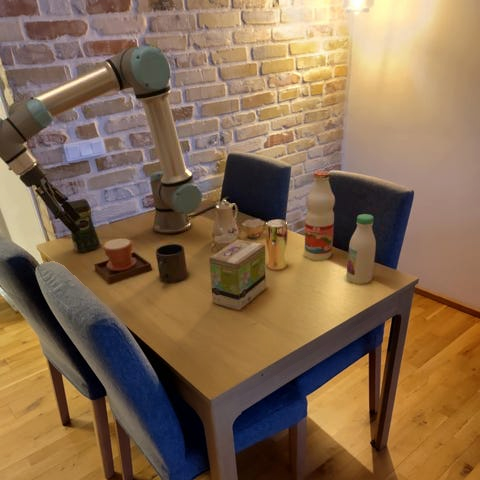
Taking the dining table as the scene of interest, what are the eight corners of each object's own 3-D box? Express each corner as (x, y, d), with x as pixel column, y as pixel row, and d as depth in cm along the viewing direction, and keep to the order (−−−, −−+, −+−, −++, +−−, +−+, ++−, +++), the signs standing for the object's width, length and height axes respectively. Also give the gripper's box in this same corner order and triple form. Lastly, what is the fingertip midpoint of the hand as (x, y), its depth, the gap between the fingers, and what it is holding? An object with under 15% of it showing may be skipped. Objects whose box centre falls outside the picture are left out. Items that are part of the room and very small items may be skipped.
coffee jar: (97, 242, 173) (85, 195, 162) (102, 248, 167) (91, 200, 157) (72, 248, 169) (59, 201, 159) (77, 255, 163) (63, 206, 153)
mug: (168, 269, 148) (163, 243, 143) (191, 271, 146) (188, 245, 140) (149, 286, 139) (144, 259, 133) (175, 289, 136) (170, 261, 131)
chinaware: (230, 264, 152) (231, 219, 142) (192, 251, 159) (190, 207, 149) (269, 235, 172) (272, 194, 162) (233, 225, 179) (234, 185, 169)
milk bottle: (372, 274, 137) (380, 212, 126) (370, 285, 131) (378, 222, 120) (347, 271, 139) (353, 211, 128) (344, 283, 133) (349, 220, 122)
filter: (130, 259, 155) (125, 235, 150) (142, 268, 148) (137, 243, 143) (103, 267, 150) (97, 243, 145) (114, 277, 143) (108, 252, 138)
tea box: (241, 311, 123) (237, 263, 115) (212, 303, 127) (207, 257, 119) (267, 288, 133) (265, 243, 125) (239, 281, 138) (236, 237, 130)
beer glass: (290, 263, 147) (290, 220, 139) (283, 271, 142) (283, 228, 133) (271, 260, 149) (270, 218, 141) (263, 268, 144) (262, 225, 136)
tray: (135, 257, 158) (134, 251, 156) (152, 269, 148) (150, 263, 147) (95, 270, 151) (93, 264, 149) (109, 284, 141) (108, 277, 140)
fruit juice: (335, 251, 152) (340, 169, 137) (327, 262, 145) (332, 177, 130) (309, 247, 156) (312, 167, 141) (300, 258, 149) (302, 175, 134)
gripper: (23, 168, 141) (69, 220, 153) (12, 186, 121) (66, 244, 133) (41, 155, 141) (86, 208, 153) (34, 170, 121) (86, 230, 133)
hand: (77, 225), depth 143 cm, fingers open, 13 cm apart
